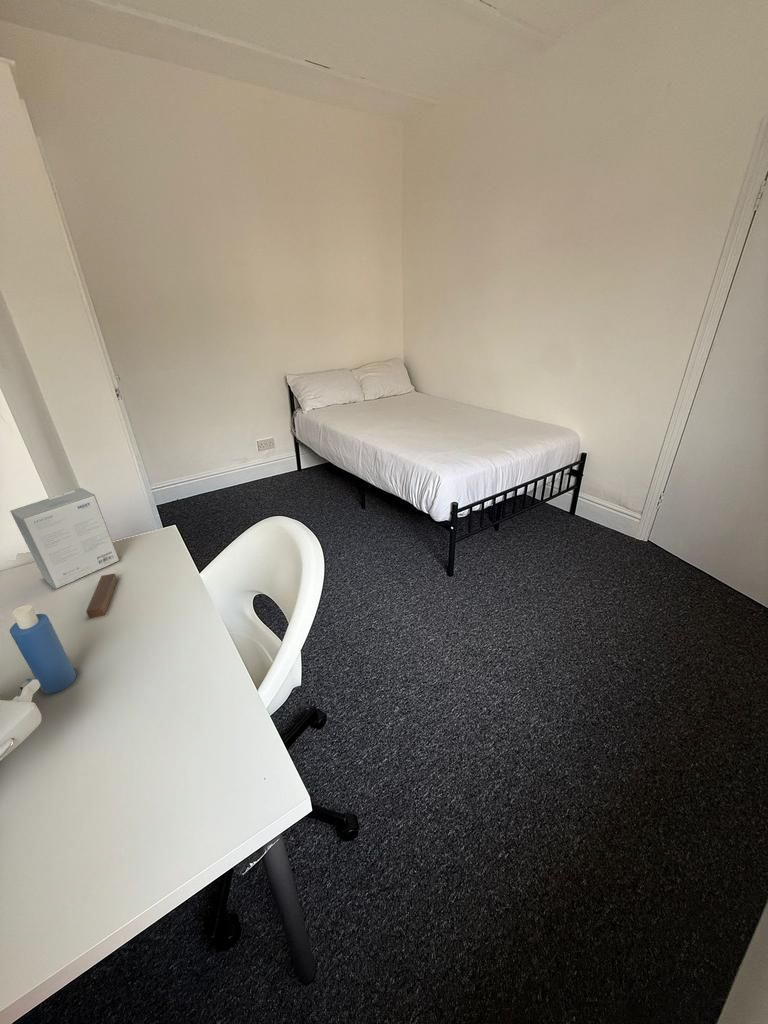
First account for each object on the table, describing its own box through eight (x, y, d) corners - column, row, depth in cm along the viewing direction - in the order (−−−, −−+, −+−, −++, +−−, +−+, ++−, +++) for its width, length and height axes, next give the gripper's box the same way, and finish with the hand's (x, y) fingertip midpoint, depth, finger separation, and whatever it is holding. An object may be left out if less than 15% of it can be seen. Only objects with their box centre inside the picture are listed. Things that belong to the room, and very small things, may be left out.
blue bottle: (37, 697, 74) (-5, 624, 66) (47, 675, 78) (9, 603, 70) (71, 689, 75) (34, 616, 67) (79, 667, 79) (45, 597, 72)
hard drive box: (107, 552, 116) (83, 487, 107) (120, 561, 112) (96, 493, 103) (42, 579, 105) (8, 509, 96) (54, 590, 101) (20, 518, 92)
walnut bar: (88, 618, 92) (85, 611, 91) (103, 582, 104) (101, 575, 103) (104, 615, 93) (101, 608, 92) (117, 579, 105) (114, 573, 104)
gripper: (-23, 756, 52) (61, 669, 65) (-170, 745, 54) (-61, 662, 66) (-1, 785, 55) (75, 697, 67) (-141, 775, 57) (-42, 690, 69)
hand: (7, 680), depth 67 cm, fingers open, 8 cm apart
